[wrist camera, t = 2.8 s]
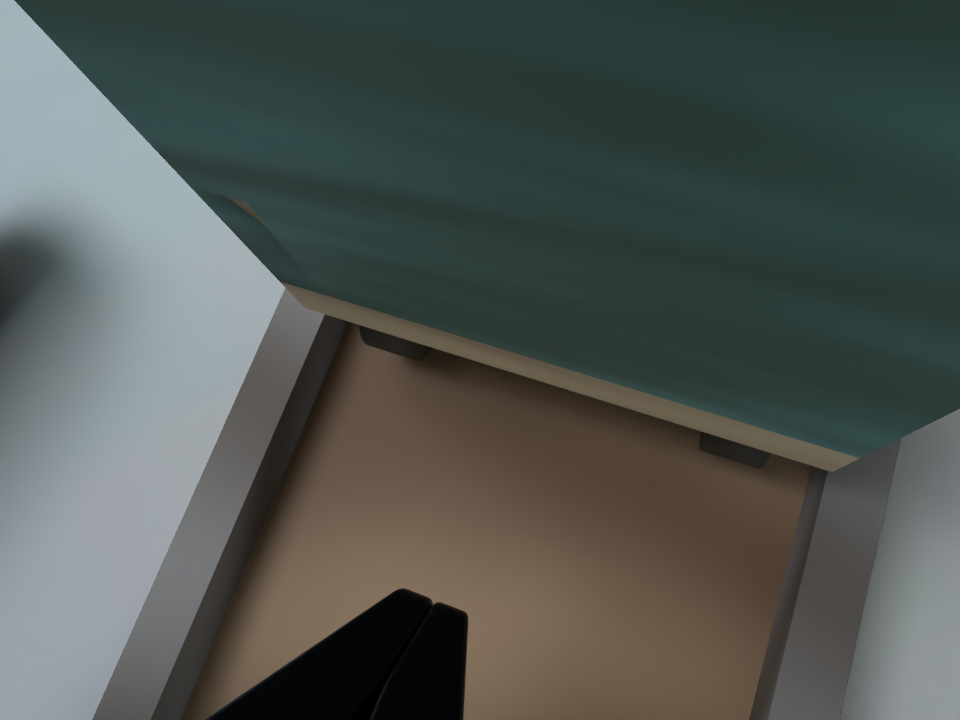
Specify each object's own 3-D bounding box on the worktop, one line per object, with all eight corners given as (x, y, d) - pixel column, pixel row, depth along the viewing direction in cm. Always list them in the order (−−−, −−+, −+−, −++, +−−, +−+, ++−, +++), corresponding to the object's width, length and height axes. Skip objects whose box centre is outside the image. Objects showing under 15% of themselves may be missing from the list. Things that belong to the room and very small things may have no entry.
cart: (791, 493, 14) (2098, -161, 2) (344, 350, 16) (-388, -426, 4) (883, 122, 16) (1827, -1353, 4) (476, 35, 18) (261, -1136, 6)
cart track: (749, 991, 13) (845, 1212, 8) (139, 711, 15) (-49, 759, 11) (1016, -177, 19) (1154, -423, 14) (551, -238, 21) (544, -463, 17)
